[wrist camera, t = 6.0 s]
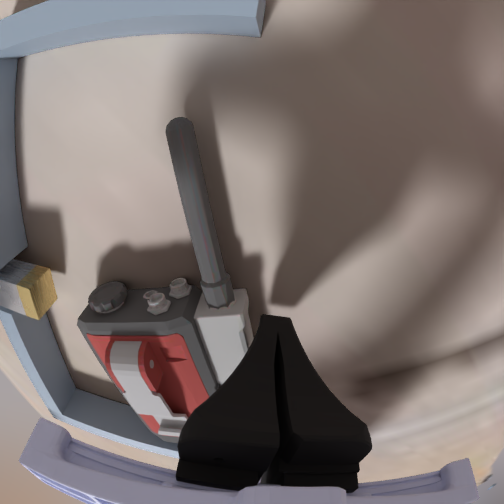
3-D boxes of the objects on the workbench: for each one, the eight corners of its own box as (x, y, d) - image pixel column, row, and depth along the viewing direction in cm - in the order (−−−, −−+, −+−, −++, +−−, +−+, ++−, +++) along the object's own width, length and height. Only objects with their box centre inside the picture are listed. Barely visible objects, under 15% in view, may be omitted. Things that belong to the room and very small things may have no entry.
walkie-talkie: (275, 417, 20) (213, 109, 11) (273, 469, 16) (181, 115, 7) (164, 415, 21) (46, 160, 12) (151, 461, 17) (-15, 189, 8)
